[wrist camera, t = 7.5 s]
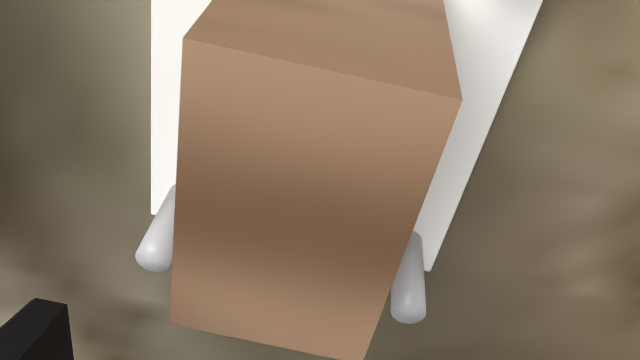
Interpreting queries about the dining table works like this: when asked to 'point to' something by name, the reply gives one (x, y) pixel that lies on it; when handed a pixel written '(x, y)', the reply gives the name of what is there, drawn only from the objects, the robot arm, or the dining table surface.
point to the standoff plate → (453, 168)
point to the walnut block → (305, 164)
